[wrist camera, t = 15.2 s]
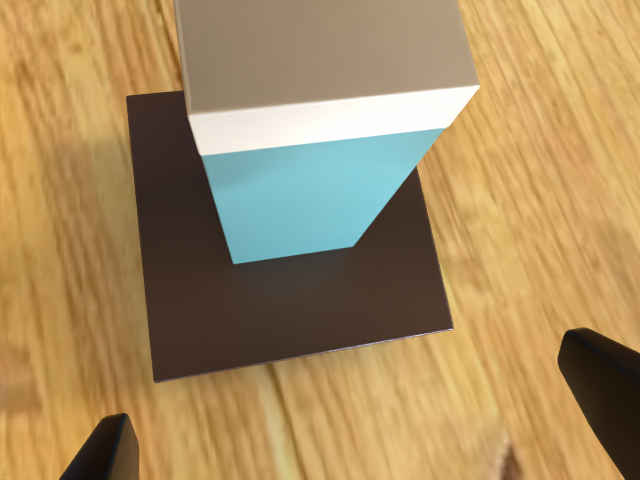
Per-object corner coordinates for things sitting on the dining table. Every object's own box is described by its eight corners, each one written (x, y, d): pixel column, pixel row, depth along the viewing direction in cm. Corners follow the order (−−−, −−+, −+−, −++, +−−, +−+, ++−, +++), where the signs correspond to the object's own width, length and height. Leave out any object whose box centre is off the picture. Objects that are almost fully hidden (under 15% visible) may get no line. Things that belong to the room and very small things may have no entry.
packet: (354, 247, 21) (481, 86, 9) (232, 265, 20) (186, 116, 8) (337, 157, 22) (430, -102, 10) (219, 171, 21) (161, -91, 9)
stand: (427, 334, 24) (455, 329, 20) (170, 380, 22) (153, 383, 19) (378, 106, 26) (395, 69, 23) (144, 131, 25) (125, 95, 21)
